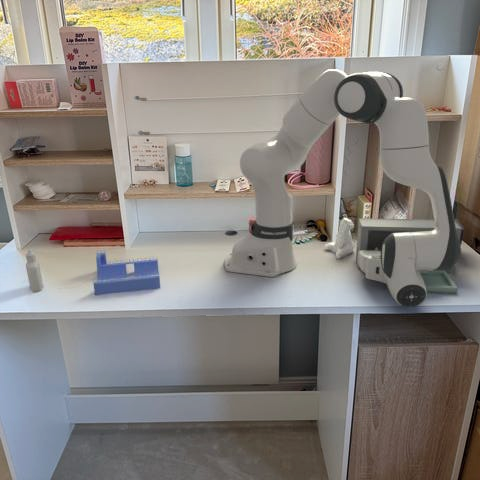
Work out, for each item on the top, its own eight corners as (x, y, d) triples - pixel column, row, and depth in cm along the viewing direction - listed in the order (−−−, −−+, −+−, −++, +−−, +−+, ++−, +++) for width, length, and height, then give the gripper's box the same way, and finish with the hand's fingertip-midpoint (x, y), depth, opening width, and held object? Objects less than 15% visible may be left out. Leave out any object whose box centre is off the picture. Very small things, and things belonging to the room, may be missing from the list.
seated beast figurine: (322, 249, 158) (324, 215, 154) (344, 245, 161) (346, 212, 157) (337, 259, 150) (340, 224, 146) (360, 255, 153) (363, 220, 149)
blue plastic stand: (95, 296, 130) (91, 273, 127) (99, 271, 145) (96, 250, 142) (160, 289, 133) (158, 266, 131) (157, 266, 148) (156, 245, 146)
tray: (414, 292, 128) (415, 286, 128) (406, 274, 138) (406, 269, 138) (456, 293, 127) (457, 287, 126) (444, 276, 137) (445, 270, 136)
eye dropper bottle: (24, 292, 132) (16, 253, 128) (34, 283, 137) (27, 245, 133) (39, 292, 132) (31, 253, 127) (48, 283, 137) (41, 245, 133)
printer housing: (358, 270, 142) (362, 226, 137) (355, 259, 149) (359, 218, 144) (454, 273, 139) (462, 229, 134) (447, 262, 146) (453, 220, 141)
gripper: (439, 260, 126) (426, 241, 138) (362, 257, 128) (356, 239, 141) (436, 281, 128) (424, 260, 141) (360, 278, 130) (354, 258, 143)
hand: (389, 250), depth 141 cm, fingers open, 6 cm apart
